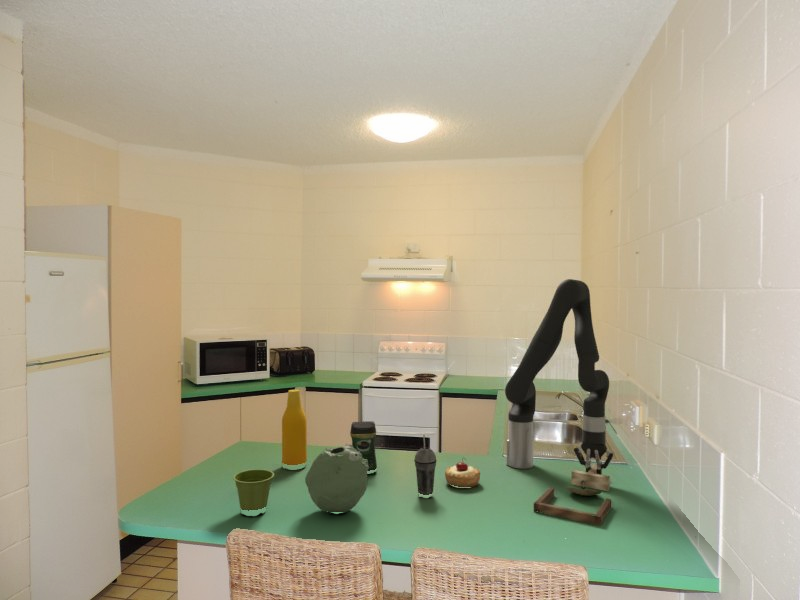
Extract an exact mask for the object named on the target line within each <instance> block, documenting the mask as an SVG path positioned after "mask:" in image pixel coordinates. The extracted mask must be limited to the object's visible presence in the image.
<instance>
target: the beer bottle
mask: <svg viewBox="0 0 800 600" xmlns="http://www.w3.org/2000/svg"><path fill="white" fill-rule="evenodd" d="M287 393H288V394H287V401H286V409H284V410H285V411H284V412H283V415H282V419H281V464H282V463H284V464H287V465H298V464H302V463H305V462H306V461H307V462H308V455H307V454H308V453H307V452H308V450H307V449H308V448H307V447H308V446H307V445H308V441H307V440H308V439H307V436H308V434H307V429H308V428H307V427H308V426H307V422H308V421H307V416H306V413H305V411H304V408H303V406H302V400H301V398H302V397H301V390H300V389H289V390H288V391H287Z"/></svg>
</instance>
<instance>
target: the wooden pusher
mask: <svg viewBox="0 0 800 600" xmlns="http://www.w3.org/2000/svg"><path fill="white" fill-rule="evenodd" d="M596 469H597V463H594V464H593V465H592V466H591V469H590V470H589V471H588V472H586V471H581V470H576V469H572V470H571V485H573V486H576V487H577V486H578V487H581V481H582V480H584V482H585V483H584V482H583V483H582V486H583V488H584V487H585V488H589V489H594V490H598V491H605V492H610V490H611V489H610V488H611V478H610V475H606V474H605V475H604V474H602V475H600V474H597V471H596Z"/></svg>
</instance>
